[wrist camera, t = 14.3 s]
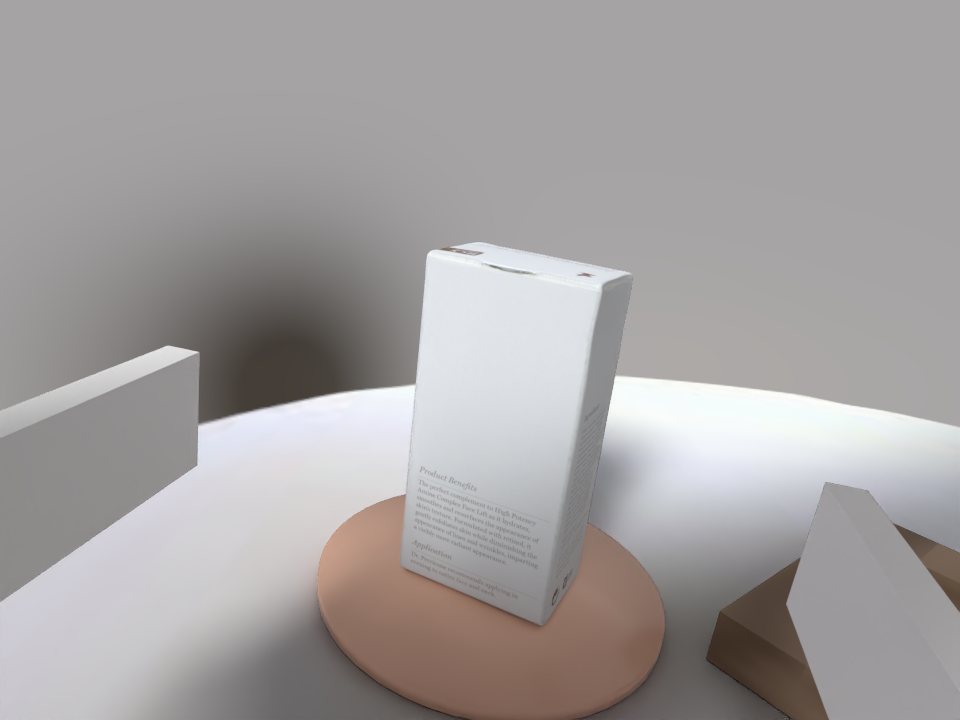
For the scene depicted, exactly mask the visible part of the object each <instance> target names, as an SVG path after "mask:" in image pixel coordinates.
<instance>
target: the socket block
mask: <svg viewBox="0 0 960 720" xmlns="http://www.w3.org/2000/svg"><path fill="white" fill-rule="evenodd" d="M893 525H894V526H895V527H896V529H897V530H898V531H899V533H900V534H901V535H902V537H903V538H904V539H905V541H906V542H907V543H908V545H909V546H910V547H911V549H912V550H913V551H914V553H915V554H916V555H917V557H918V558H919V559H920V561H921V562H922V563H923V565H924V566H925V567H926V569H927V570H928V571H929V572H930V574H931V575H932V576H933V578H934V579H935V580H936V582H937V583H938V584H939V586H940V587H941V588H942V590H943V591H944V592H945V594H946V595H947V596H948V598H949V599H950V600H951V602H952V603H953V604H954V606H955V607H956V608H957V610H958V611H959V612H960V553H959V552H956V551H954V550H952V549H950V548H947V547H945V546H943V545H941V544H938V543H936V542H934V541H932V540H929V539H927V538H925V537H923V536H921V535H918V534H916V533H914V532H912V531H909V530H907V529H905V528H903V527H900V526H898V525H896V524H894V523H893ZM800 559H801V558H799V559H798V560H796V561H795V562H793V563H792V564H790V565H789V566H787V567H786V568H784V569H783V570H781V571H780V572H778V573H777V574H775V575H774V576H772V577H771V578H769V579H768V580H766V581H765V582H763V583H762V584H760V585H759V586H757V587H756V588H754V589H753V590H751V591H750V592H748V593H747V594H745V595H744V596H742V597H741V598H739V599H738V600H736V601H735V602H733V603H732V604H730V605H729V606H727V607H726V608H724V609H723V610H721V611H720V613H719V617H718V620H717V623H716V627H715V630H714V634H713V637H712V640H711V644H710V647H709V651H708V654H707V657H706V659H707V660H708V661H710V662H711V663H713V664H714V665H716V666H717V667H718V668H720V669H721V670H723V671H724V672H726V673H727V674H729V675H730V676H731V677H733V678H734V679H736V680H737V681H739V682H740V683H741V684H743V685H744V686H746V687H747V688H749V689H750V690H752V691H753V692H754V693H756V694H757V695H759V696H760V697H762V698H763V699H765V700H766V701H767V702H769V703H770V704H772V705H773V706H775V707H776V708H777V709H779V710H780V711H782V712H783V713H785V714H786V715H788V716H789V717H790V718H792V719H793V720H829V718H828V716H827V713H826V710H825V707H824V705H823V702H822V699H821V697H820V694H819V691H818V689H817V686H816V683H815V680H814V678H813V675H812V672H811V670H810V667H809V664H808V661H807V659H806V656H805V653H804V651H803V648H802V645H801V643H800V640H799V637H798V634H797V632H796V629H795V626H794V624H793V621H792V618H791V615H790V613H789V610H788V607H787V605H786V603H787V599H788V596H789V593H790V590H791V587H792V584H793V581H794V578H795V575H796V572H797V568H798V565H799V562H800Z"/></svg>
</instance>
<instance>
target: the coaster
mask: <svg viewBox="0 0 960 720" xmlns="http://www.w3.org/2000/svg"><path fill="white" fill-rule="evenodd" d="M405 500H406V494H405V495H401V496H397V497H393V498H390V499H387V500H384V501H381V502H379V503H376V504H374V505H372V506H370V507H367V508H365V509H364V510H362V511H360V512H359V513H357V514H355V515H353V516H352V517H351V518H350V519H348V520H347V521H346V522H345V523H343V524H342V525H341V526H340V527H339V528H338V529H337V530H336V531H335V533H334V534H333V535H332V536H331V538H330V539H329V541H328V543H327V544H326V546H325V548H324V550H323V553H322V556H321V558H320V563H319V570H318V579H317V598H318V605H319V609H320V612H321V616H322V619H323V621H324V623H325V625H326V627H327V629H328V631H329V633H330V635H331V636H332V638H333V639H334V641H335V642H336V643H337V645H338V646H339V647H340V649H341V650H342V651H343V652H344V653H345V654H346V655H347V656H348V657H349V658H350V660H351V661H352V662H353V663H354V664H355V665H356V666H357V667H359V668H360V669H361V670H362V671H364V672H365V673H366V674H368V675H369V676H370V677H372V678H373V679H374V680H375V681H377V682H378V683H380V684H382V685H383V686H385V687H387V688H388V689H390V690H392V691H393V692H395V693H397V694H399V695H400V696H403V697H405V698H407V699H409V700H411V701H414V702H416V703H418V704H420V705H423V706H425V707H428V708H431V709H434V710H437V711H440V712H443V713H446V714H449V715H452V716H457V717H461V718H466V719H471V720H574V719H578V718H582V717H587V716H590V715H592V714H595V713H597V712H600V711H602V710H605V709H608V708H610V707H611V706H613V705H615V704H617V703H618V702H620V701H622V700H623V699H625V698H627V697H628V696H629V695H630V694H631V693H633V692H634V691H635V690H636V689H637V688H638V687H640V686H641V685H642V683H643V682H644V681H645V679H646V678H647V677H648V676H649V674H650V673H651V672H652V670H653V667H654V665H655V663H656V661H657V659H658V656H659V653H660V649H661V645H662V641H663V637H664V632H665V612H664V608H663V603H662V599H661V597H660V595H659V592H658V590H657V587H656V586H655V584H654V582H653V581H652V579H651V577H650V576H649V574H648V573H647V571H646V570H645V569H644V568H643V566H642V565H641V564H640V563H639V561H638V560H637V559H636V558H635V557H634V556H633V555H632V554H631V553H630V552H629V551H628V550H627V549H625V548H624V547H623V546H622V545H620V544H619V543H618V542H617V541H616V540H614V539H613V538H611V537H610V536H609V535H607V534H606V533H604V532H603V531H601V530H600V529H598V528H596V527H595V526H593V525H591V524H589V523H588V522H587V526H586V532H585V537H584V543H583V548H582V553H581V561H580V566H579V571H578V573H577V575H576V577H575V578H574V580H573V581H572V583H571V585H570V586H569V588H568V589H567V591H566V592H565V594H564V595H563V597H562V598H561V600H560V602H559V603H558V605H557V606H556V608H555V609H554V611H553V612H552V614H551V616H550V617H549V619H548V620H547V622H546V623H545V624H544V625H543V626H540V625H537V624H535V623H533V622H530V621H528V620H525V619H523V618H521V617H518V616H516V615H514V614H511V613H509V612H506V611H504V610H502V609H499V608H497V607H495V606H492V605H490V604H488V603H485V602H483V601H481V600H478V599H476V598H473V597H471V596H469V595H466V594H464V593H462V592H459V591H457V590H455V589H452V588H450V587H447V586H445V585H443V584H440V583H438V582H436V581H433V580H431V579H429V578H426V577H424V576H421V575H419V574H417V573H414V572H412V571H410V570H408V569H405V568H403V567H402V566H401V565H400V550H401V540H402V531H403V520H404V510H405Z"/></svg>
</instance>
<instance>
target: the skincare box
mask: <svg viewBox="0 0 960 720" xmlns="http://www.w3.org/2000/svg"><path fill="white" fill-rule="evenodd" d="M632 281H633V276H632V274H631V273H629V272H624V271H619V270H614V269H609V268H605V267H600V266H595V265H591V264H586V263H581V262H576V261H571V260H566V259H561V258H555V257H551V256H546V255H541V254H536V253H531V252H526V251H521V250H516V249H510V248H506V247H500V246H496V245H492V244H488V243H483V242H476V243H470V244H465V245H460V246H454V247H448V248H443V249H438V250H433V251H430V252H429V253H428V255H427V259H426V273H425V286H424V300H423V309H422V320H421V332H420V344H419V355H418V366H417V377H416V388H415V399H414V410H413V421H412V431H411V441H410V451H409V464H408V475H407V488H406V500H405V510H404V520H403V531H402V540H401V550H400V565H401V566H402V567H403V568H405V569H408V570H410V571H412V572H414V573H417V574H419V575H421V576H424V577H426V578H429V579H431V580H433V581H436V582H438V583H440V584H443V585H445V586H447V587H450V588H452V589H455V590H457V591H459V592H462V593H464V594H466V595H469V596H471V597H473V598H476V599H478V600H481V601H483V602H485V603H488V604H490V605H492V606H495V607H497V608H499V609H502V610H504V611H506V612H509V613H511V614H514V615H516V616H518V617H521V618H523V619H525V620H528V621H530V622H533V623H535V624H537V625H540V626H543V625H544V624H545V623H546V622H547V620H548V619H549V617H550V616H551V614H552V612H553V611H554V609H555V608H556V606H557V605H558V603H559V602H560V600H561V598H562V597H563V595H564V594H565V592H566V591H567V589H568V588H569V586H570V585H571V583H572V581H573V580H574V578H575V577H576V575H577V573H578V571H579V566H580V561H581V553H582V548H583V543H584V537H585V532H586V526H587V522H588V516H589V511H590V506H591V501H592V495H593V490H594V485H595V480H596V474H597V469H598V464H599V459H600V454H601V448H602V442H603V437H604V432H605V426H606V421H607V416H608V410H609V405H610V400H611V395H612V389H613V384H614V378H615V373H616V368H617V363H618V358H619V352H620V347H621V341H622V333H623V327H624V323H625V318H626V314H627V309H628V305H629V299H630V294H631V288H632Z"/></svg>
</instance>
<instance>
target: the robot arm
mask: <svg viewBox="0 0 960 720" xmlns="http://www.w3.org/2000/svg"><path fill="white" fill-rule="evenodd" d="M198 397H199V352H196V351H191V350H187V349H182V348H176V347H172V346H166V347H163V348H161V349H158V350H156V351H153V352H151V353H148V354H145V355H143V356H140V357H137V358H135V359H132V360H130V361H127V362H125V363H122V364H120V365H117V366H114V367H112V368H109V369H107V370H104V371H101V372H99V373H96V374H94V375H91V376H88V377H86V378H83V379H81V380H78V381H76V382H73V383H70V384H68V385H66V386H63V387H60V388H58V389H55V390H53V391H50V392H48V393H45V394H42V395H40V396H37V397H35V398H32V399H29V400H27V401H24V402H22V403H19V404H17V405H14V406H11V407H9V408H7V409H4V410H1V411H0V602H1V601H2V600H4V599H5V598H7V597H8V596H10V595H11V594H13V593H14V592H15V591H17V590H18V589H20V588H21V587H23V586H24V585H25V584H27V583H28V582H30V581H31V580H33V579H34V578H36V577H37V576H38V575H40V574H41V573H43V572H44V571H46V570H47V569H49V568H50V567H51V566H53V565H54V564H56V563H57V562H59V561H60V560H61V559H63V558H64V557H66V556H67V555H69V554H70V553H72V552H73V551H74V550H76V549H77V548H79V547H80V546H82V545H83V544H85V543H86V542H87V541H89V540H90V539H92V538H93V537H95V536H96V535H97V534H99V533H100V532H102V531H103V530H105V529H106V528H108V527H109V526H110V525H112V524H113V523H115V522H116V521H118V520H119V519H120V518H122V517H123V516H125V515H126V514H128V513H129V512H131V511H132V510H133V509H135V508H136V507H138V506H139V505H141V504H142V503H144V502H145V501H146V500H148V499H149V498H151V497H152V496H154V495H155V494H156V493H158V492H159V491H161V490H162V489H164V488H165V487H167V486H168V485H169V484H171V483H172V482H174V481H175V480H177V479H178V478H180V477H181V476H182V475H184V474H185V473H187V472H188V471H190V470H191V469H192V468H194V467H195V466H197V452H198ZM786 605H787V607H788V610H789V613H790V615H791V618H792V621H793V624H794V626H795V629H796V632H797V634H798V637H799V640H800V643H801V645H802V648H803V651H804V653H805V656H806V659H807V661H808V664H809V667H810V670H811V672H812V675H813V678H814V680H815V683H816V686H817V689H818V691H819V694H820V697H821V699H822V702H823V705H824V707H825V710H826V713H827V716H828V718H829V720H960V612H959V611H958V610H957V608H956V607H955V606H954V604H953V603H952V602H951V600H950V599H949V598H948V596H947V595H946V594H945V592H944V591H943V590H942V588H941V587H940V586H939V584H938V583H937V582H936V580H935V579H934V578H933V576H932V575H931V574H930V572H929V571H928V570H927V569H926V567H925V566H924V565H923V563H922V562H921V561H920V559H919V558H918V557H917V555H916V554H915V553H914V551H913V550H912V549H911V547H910V546H909V545H908V543H907V542H906V541H905V539H904V538H903V537H902V535H901V534H900V533H899V531H898V530H897V529H896V527H895V526H894V525H893V523H892V522H891V521H890V519H889V518H888V517H887V515H886V514H885V513H884V511H883V510H882V509H881V507H880V506H879V505H878V503H877V502H876V501H875V499H874V498H873V497H872V495H871V494H870V493H869V491H867V490H862V489H857V488H852V487H848V486H843V485H838V484H833V483H828V482H825V485H824V488H823V491H822V494H821V497H820V500H819V503H818V506H817V510H816V513H815V516H814V519H813V522H812V525H811V528H810V531H809V534H808V537H807V541H806V544H805V547H804V550H803V553H802V556H801V559H800V562H799V565H798V568H797V572H796V575H795V578H794V581H793V584H792V587H791V590H790V593H789V596H788V599H787V603H786Z"/></svg>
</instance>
